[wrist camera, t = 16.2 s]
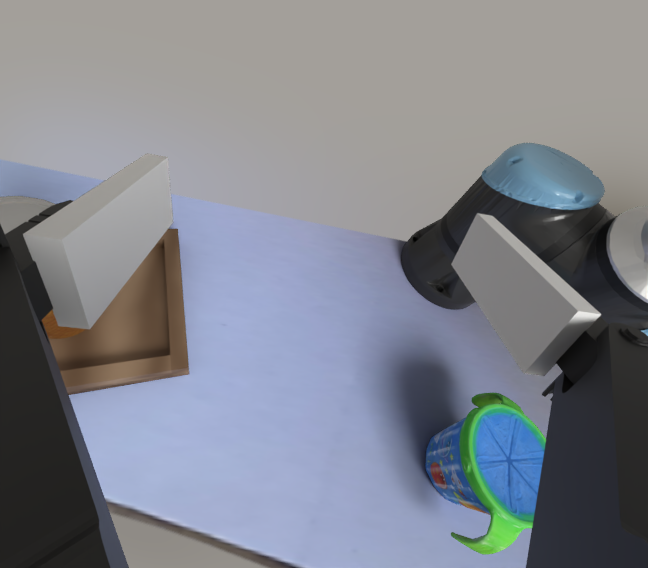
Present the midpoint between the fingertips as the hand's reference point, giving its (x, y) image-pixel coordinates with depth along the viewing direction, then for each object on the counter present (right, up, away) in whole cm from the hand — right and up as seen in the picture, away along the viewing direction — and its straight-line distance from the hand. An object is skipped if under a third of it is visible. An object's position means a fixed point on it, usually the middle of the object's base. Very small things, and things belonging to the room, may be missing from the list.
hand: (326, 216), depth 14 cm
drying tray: (-25, -6, +21) cm, 34 cm away
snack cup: (+15, -25, +25) cm, 38 cm away
